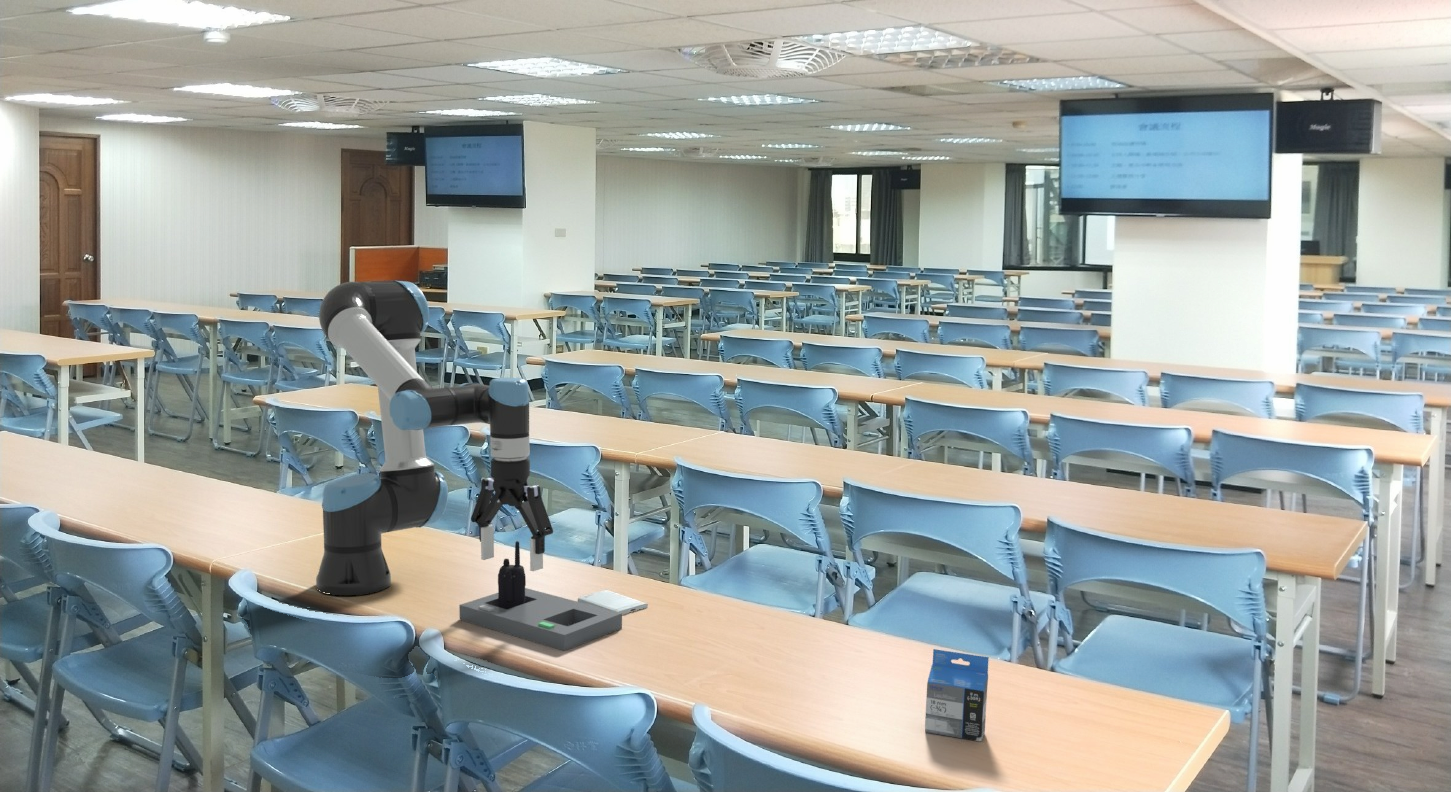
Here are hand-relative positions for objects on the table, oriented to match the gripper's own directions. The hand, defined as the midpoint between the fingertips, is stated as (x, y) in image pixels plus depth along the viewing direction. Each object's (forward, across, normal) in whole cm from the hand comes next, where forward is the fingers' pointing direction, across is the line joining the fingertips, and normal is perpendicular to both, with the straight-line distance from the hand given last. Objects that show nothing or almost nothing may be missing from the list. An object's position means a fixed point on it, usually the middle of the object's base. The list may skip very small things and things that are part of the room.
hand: (511, 564), depth 236 cm
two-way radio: (+11, 0, 0) cm, 11 cm away
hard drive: (+12, +10, +18) cm, 24 cm away
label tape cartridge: (+12, +94, +3) cm, 94 cm away
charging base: (+11, +8, 0) cm, 13 cm away
